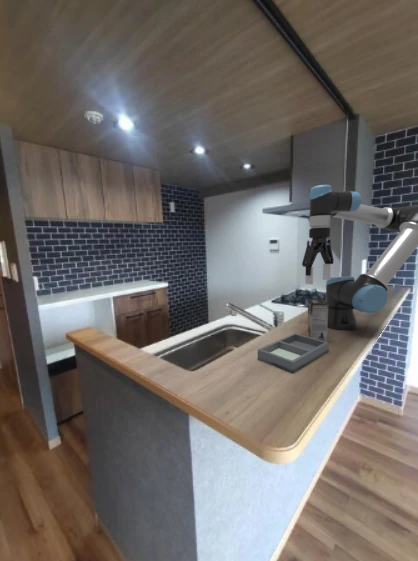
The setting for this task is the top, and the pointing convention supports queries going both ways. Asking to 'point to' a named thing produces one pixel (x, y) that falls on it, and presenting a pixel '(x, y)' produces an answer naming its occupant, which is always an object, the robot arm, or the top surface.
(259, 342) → the top surface
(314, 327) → the coffee box
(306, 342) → the compartment tray
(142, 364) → the top surface
